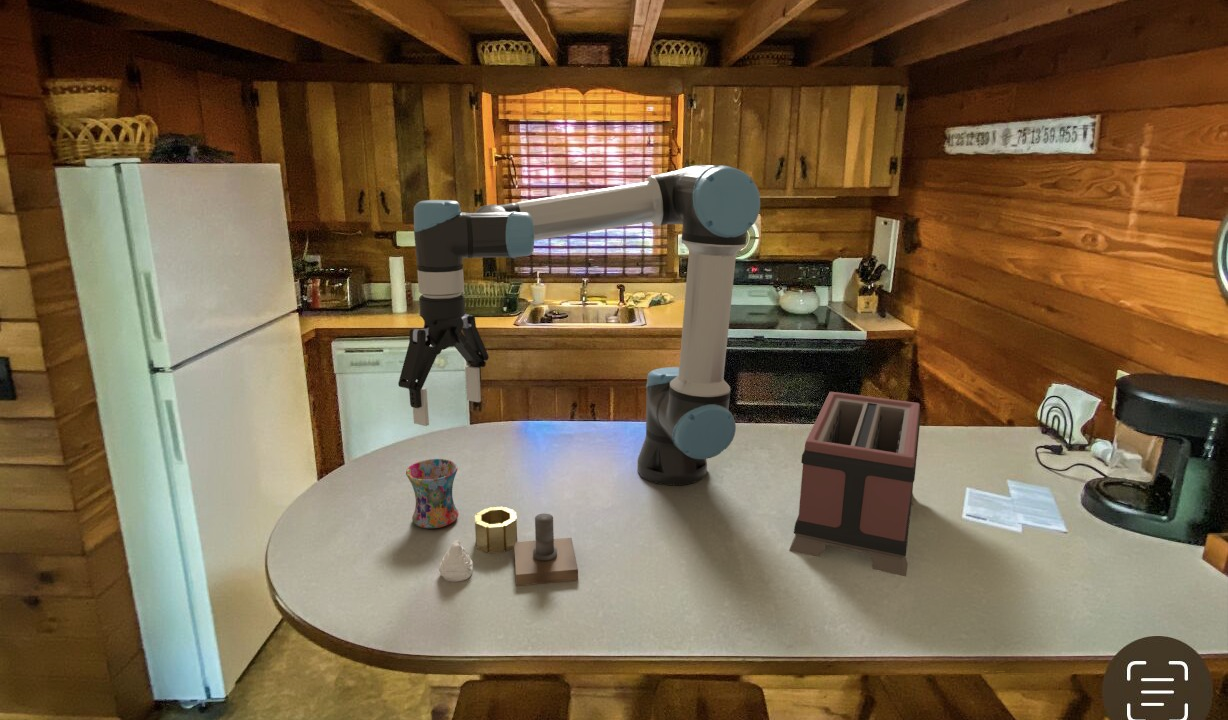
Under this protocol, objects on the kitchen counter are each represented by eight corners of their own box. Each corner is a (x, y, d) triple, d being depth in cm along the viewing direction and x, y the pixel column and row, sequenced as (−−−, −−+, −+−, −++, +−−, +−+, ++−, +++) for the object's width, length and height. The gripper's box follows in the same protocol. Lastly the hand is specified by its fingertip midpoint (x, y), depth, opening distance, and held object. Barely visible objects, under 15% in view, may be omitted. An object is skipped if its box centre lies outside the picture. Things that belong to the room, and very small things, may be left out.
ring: (516, 530, 133) (515, 505, 131) (517, 550, 126) (516, 525, 124) (476, 533, 131) (475, 508, 130) (476, 554, 125) (474, 528, 123)
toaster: (914, 491, 149) (926, 397, 143) (906, 577, 119) (921, 462, 113) (818, 474, 156) (827, 384, 150) (788, 551, 126) (797, 442, 120)
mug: (452, 534, 131) (448, 481, 128) (402, 531, 132) (398, 478, 129) (470, 503, 143) (467, 453, 140) (425, 501, 143) (421, 451, 140)
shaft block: (571, 547, 127) (571, 501, 124) (578, 580, 117) (577, 530, 115) (514, 552, 125) (512, 505, 123) (516, 585, 116) (514, 535, 113)
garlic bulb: (467, 551, 115) (433, 550, 115) (469, 584, 116) (435, 583, 116) (474, 533, 120) (442, 533, 120) (476, 565, 122) (444, 564, 122)
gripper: (472, 280, 134) (477, 388, 140) (368, 304, 113) (380, 430, 119) (504, 284, 130) (508, 395, 136) (403, 310, 109) (413, 439, 115)
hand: (448, 412), depth 128 cm, fingers open, 13 cm apart
